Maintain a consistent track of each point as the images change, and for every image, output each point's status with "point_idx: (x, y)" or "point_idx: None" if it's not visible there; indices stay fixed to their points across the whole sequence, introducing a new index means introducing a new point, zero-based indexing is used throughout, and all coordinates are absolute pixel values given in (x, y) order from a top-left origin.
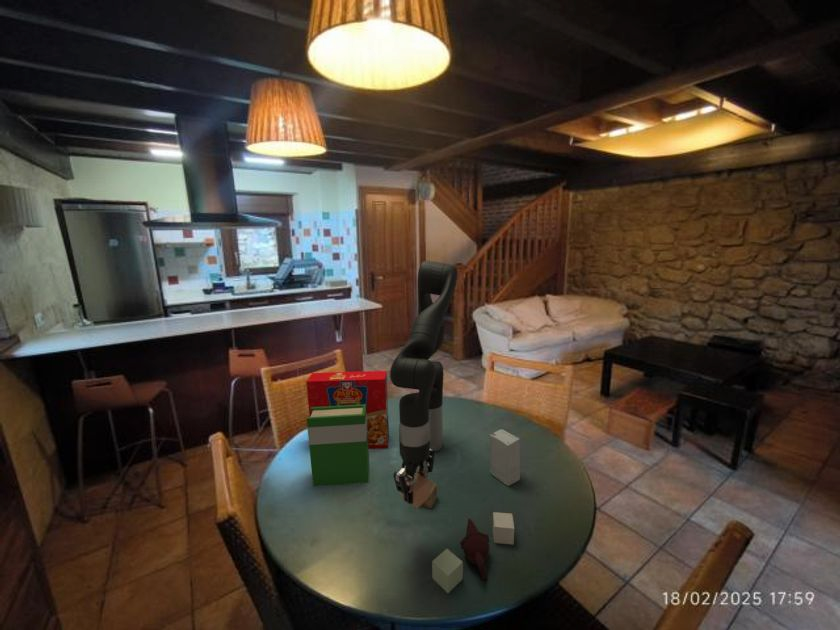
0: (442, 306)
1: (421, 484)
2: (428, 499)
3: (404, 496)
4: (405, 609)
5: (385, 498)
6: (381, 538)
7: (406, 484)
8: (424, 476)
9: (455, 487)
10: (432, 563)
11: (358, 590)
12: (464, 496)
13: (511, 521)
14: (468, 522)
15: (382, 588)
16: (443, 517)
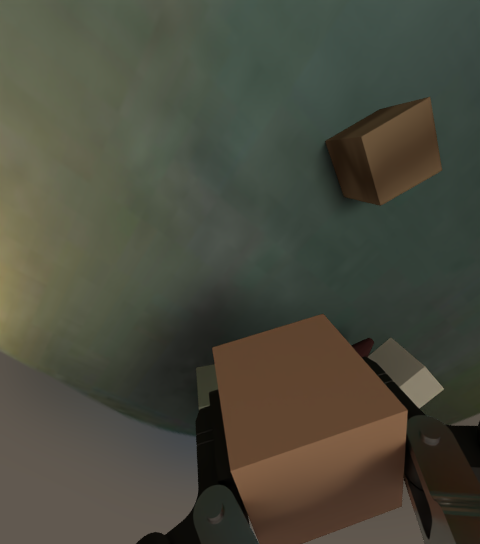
0: None
1: (331, 523)
2: (361, 193)
3: (198, 449)
4: (103, 393)
5: (261, 10)
6: (142, 194)
7: (240, 526)
8: (408, 484)
9: (462, 173)
10: (198, 401)
11: (3, 308)
12: (442, 223)
13: (421, 403)
14: (359, 354)
15: (72, 334)
16: (342, 248)
